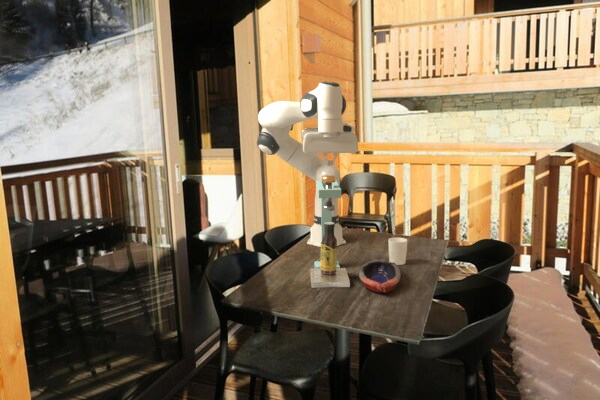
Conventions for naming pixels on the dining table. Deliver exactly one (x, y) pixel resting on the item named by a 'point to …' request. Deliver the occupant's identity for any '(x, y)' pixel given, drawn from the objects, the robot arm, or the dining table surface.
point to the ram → (328, 180)
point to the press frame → (323, 194)
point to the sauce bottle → (328, 250)
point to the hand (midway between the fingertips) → (330, 165)
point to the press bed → (329, 278)
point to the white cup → (397, 250)
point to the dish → (380, 275)
